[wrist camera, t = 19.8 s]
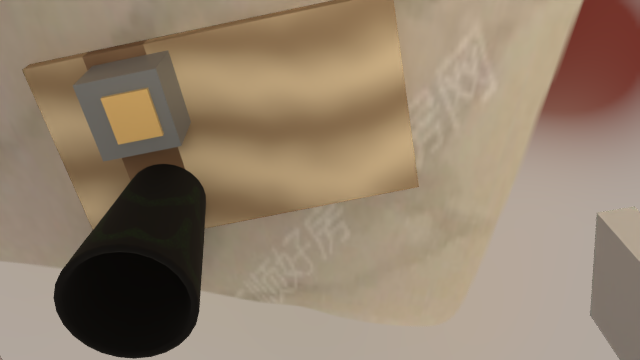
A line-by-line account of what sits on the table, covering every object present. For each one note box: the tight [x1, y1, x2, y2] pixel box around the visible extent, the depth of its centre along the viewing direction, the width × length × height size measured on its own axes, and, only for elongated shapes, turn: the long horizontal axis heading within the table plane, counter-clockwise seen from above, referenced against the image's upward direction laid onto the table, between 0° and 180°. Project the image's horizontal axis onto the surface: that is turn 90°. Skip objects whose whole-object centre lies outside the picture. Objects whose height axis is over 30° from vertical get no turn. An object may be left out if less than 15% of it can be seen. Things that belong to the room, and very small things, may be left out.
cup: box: [54, 164, 206, 358], centre depth 37 cm, size 8×8×12 cm
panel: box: [23, 0, 419, 229], centre depth 41 cm, size 14×24×1 cm, turn 101°
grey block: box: [73, 50, 191, 162], centre depth 37 cm, size 5×5×4 cm
